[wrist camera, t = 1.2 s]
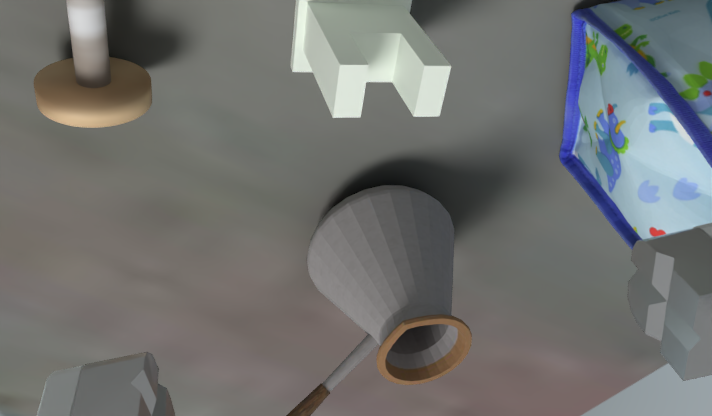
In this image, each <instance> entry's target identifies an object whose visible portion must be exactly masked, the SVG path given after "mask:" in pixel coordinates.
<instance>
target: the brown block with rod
mask: <svg viewBox="0 0 712 416" xmlns="http://www.w3.org/2000/svg"><path fill="white" fill-rule="evenodd" d="M66 2H67V10H68V19H69V27H70V35H71V43H72V51H73V58H70V59H65V60H61V61H58V62H55V63H53V64H50V65H48V66H46V67H45V68H43V69H42V70H40V71H39V72H38V73H37V75H36V76H35V79H34V88H35V94H36V100H37V106H38V108H39V110H40V111H41V112H42V114H44V115H45V116H46V117H48V118H50V119H51V120H54V121H56V122H59V123H62V124H65V125H70V126H76V127H89V128H96V127H108V126H114V125H119V124H123V123H126V122H129V121H132V120H134V119H136V118H138V117H140V116H141V115H143V114H144V113H145V112H146V111H147V110H148V109H149V108H150V106H151V103H152V89H151V78H150V75H149V74H148V72H147V71H146V70H145V69H143V68H142V67H140V66H139V65H137V64H135V63H132V62H130V61H126V60H123V59H118V58H112V57H109V49H108V38H107V26H106V15H105V4H104V0H66Z"/></svg>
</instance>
